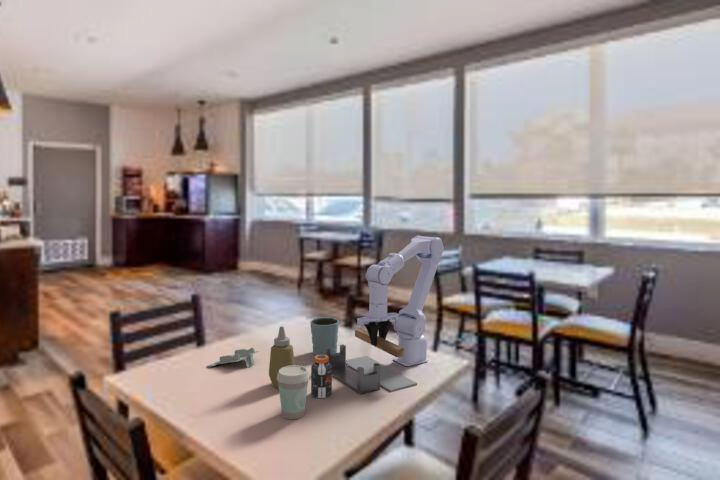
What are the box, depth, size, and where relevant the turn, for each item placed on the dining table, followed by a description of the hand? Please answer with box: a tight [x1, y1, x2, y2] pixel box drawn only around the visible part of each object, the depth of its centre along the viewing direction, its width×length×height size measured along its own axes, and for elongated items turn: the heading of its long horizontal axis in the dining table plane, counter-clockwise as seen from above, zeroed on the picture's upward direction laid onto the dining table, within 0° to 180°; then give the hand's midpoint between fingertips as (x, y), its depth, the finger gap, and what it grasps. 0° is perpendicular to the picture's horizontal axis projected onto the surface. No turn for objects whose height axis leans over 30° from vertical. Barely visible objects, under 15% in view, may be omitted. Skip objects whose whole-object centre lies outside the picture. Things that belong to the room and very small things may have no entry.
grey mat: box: [346, 355, 418, 393], centre depth 155 cm, size 10×28×1 cm, turn 32°
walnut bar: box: [354, 327, 404, 358], centre depth 154 cm, size 2×24×2 cm, turn 32°
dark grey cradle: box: [325, 343, 381, 395], centre depth 149 cm, size 7×22×8 cm, turn 32°
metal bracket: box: [206, 347, 260, 369], centre depth 163 cm, size 14×6×15 cm
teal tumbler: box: [309, 316, 340, 357], centre depth 172 cm, size 10×10×12 cm
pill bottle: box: [310, 355, 333, 399], centre depth 138 cm, size 6×6×11 cm
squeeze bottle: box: [268, 325, 296, 389], centre depth 144 cm, size 8×8×18 cm
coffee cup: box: [277, 364, 311, 420], centre depth 126 cm, size 8×8×12 cm
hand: (377, 344), depth 154 cm, fingers closed on walnut bar, 2 cm apart
